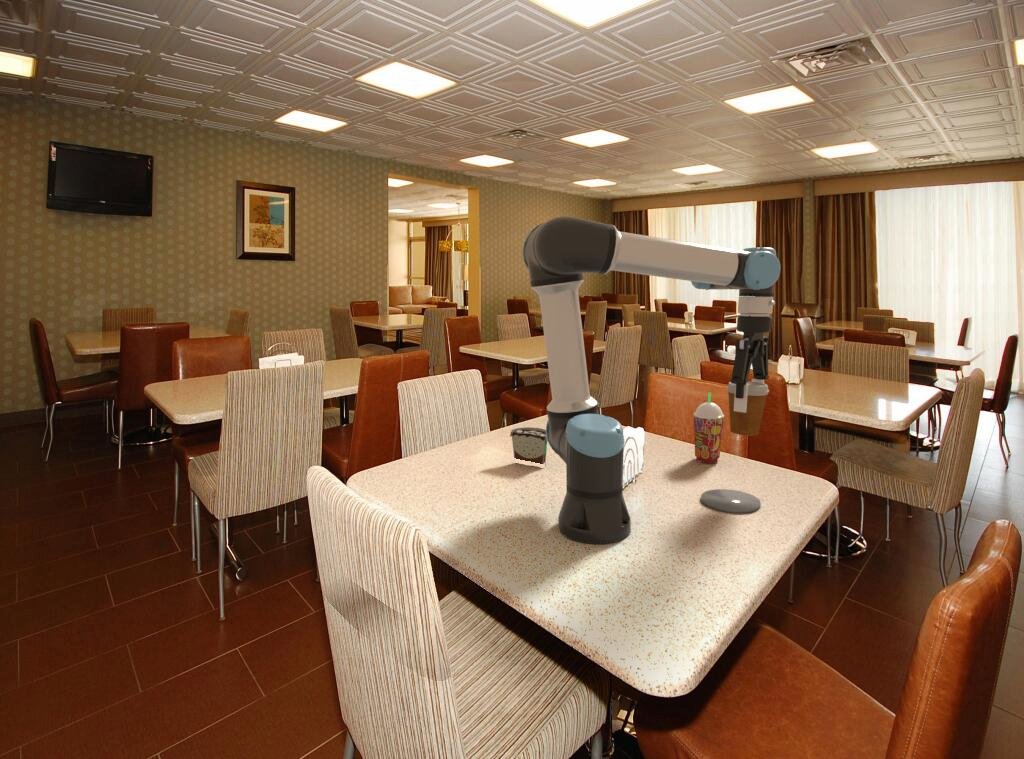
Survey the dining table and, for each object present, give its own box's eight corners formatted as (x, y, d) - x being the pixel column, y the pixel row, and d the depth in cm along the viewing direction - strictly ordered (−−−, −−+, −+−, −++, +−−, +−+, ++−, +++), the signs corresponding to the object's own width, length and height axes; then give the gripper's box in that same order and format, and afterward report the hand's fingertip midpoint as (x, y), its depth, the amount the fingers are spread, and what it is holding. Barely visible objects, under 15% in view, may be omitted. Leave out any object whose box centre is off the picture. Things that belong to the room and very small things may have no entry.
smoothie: (686, 457, 165) (688, 391, 162) (710, 455, 168) (712, 389, 165) (703, 466, 157) (706, 396, 154) (728, 463, 160) (731, 394, 157)
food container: (557, 463, 162) (557, 430, 161) (547, 469, 157) (547, 434, 156) (521, 457, 169) (520, 425, 167) (510, 462, 164) (509, 429, 162)
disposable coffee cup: (774, 435, 133) (778, 386, 132) (743, 438, 130) (747, 387, 128) (745, 426, 142) (748, 380, 140) (715, 429, 139) (718, 381, 137)
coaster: (722, 515, 123) (722, 512, 123) (690, 495, 136) (690, 492, 136) (773, 509, 126) (773, 506, 126) (737, 490, 139) (737, 487, 138)
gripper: (753, 317, 121) (746, 418, 124) (787, 314, 137) (780, 404, 140) (719, 316, 126) (713, 413, 129) (756, 313, 142) (750, 400, 145)
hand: (748, 408), depth 135 cm, fingers closed on disposable coffee cup, 9 cm apart
